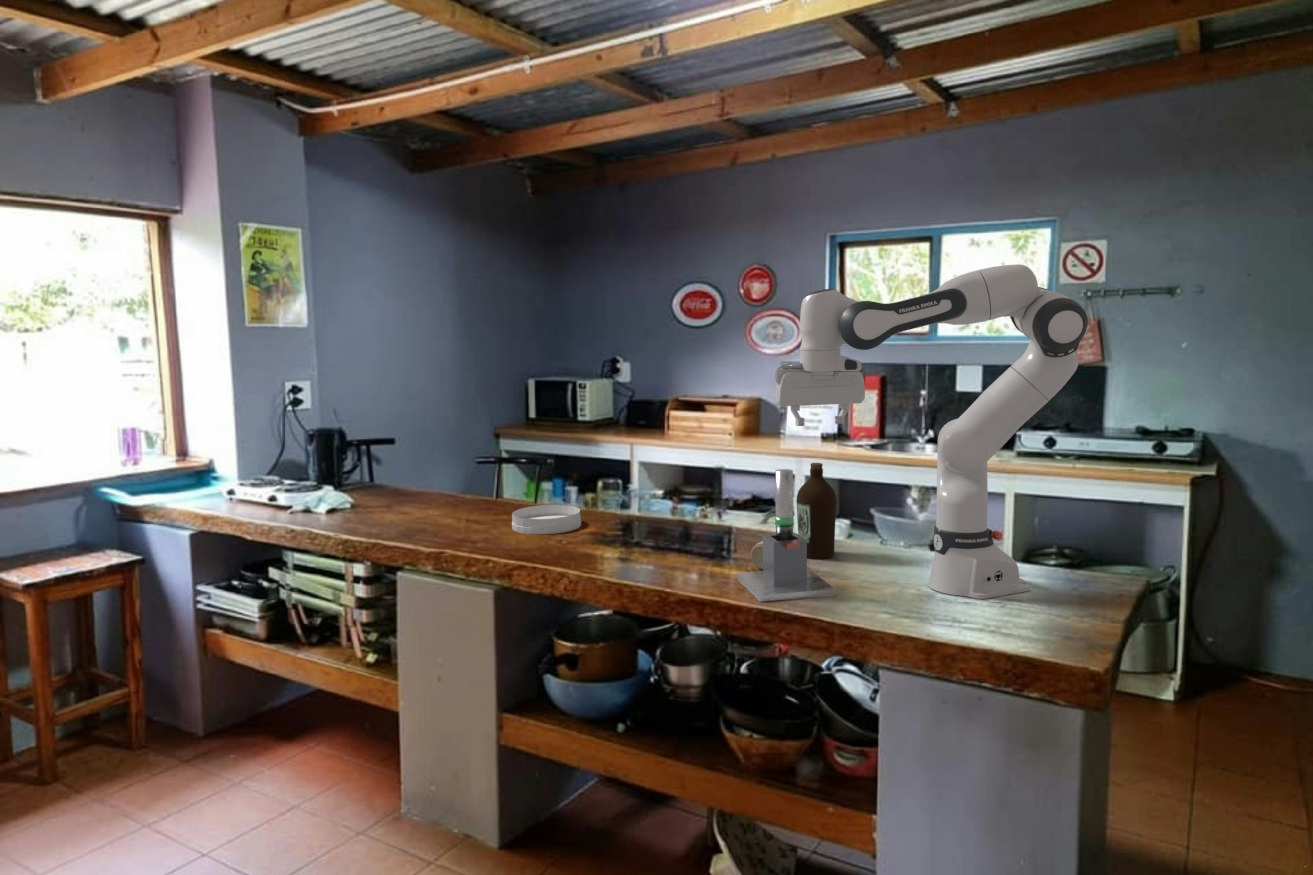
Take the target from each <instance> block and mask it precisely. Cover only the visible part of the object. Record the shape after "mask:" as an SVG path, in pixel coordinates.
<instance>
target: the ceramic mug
mask: <svg viewBox="0 0 1313 875" xmlns="http://www.w3.org/2000/svg"><path fill="white" fill-rule="evenodd" d="M750 550H751V551H750V559H751V562H752V564H753V565H754V566H755V567H756V568H758V569H759V570H761V571H763V540H761V541H759V542H757V543H755V545H753V547H752V548H751V549H750Z"/></svg>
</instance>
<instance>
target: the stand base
mask: <svg viewBox="0 0 1313 875" xmlns="http://www.w3.org/2000/svg"><path fill="white" fill-rule="evenodd" d="M762 541H763V570H761V571H759V570H758V571H748V572H738V573H736V579H737V580H738V582H739V583H740V584H742V585H743V586H744V587H745V588H746V590H747V591H749V592H750V594H752V596H754V597H755V598H756V599H757V600H758V601H759V602H761V603H762V602H773V601H774V602H775V601H784V600H786V601H787V600H796V599H808V598H818V597H819V598H820V597H830V596H836V595H837V594H836V587H834V586H832V585H831V584H829V582H827V581H825V579H823V578H822V577H820V576H818V575H817V574H816V573H814V571H812V570H810V569H809V568H807V567H808V562H807V561H808V558H807V540H805V539H804V538H802V537H801V536H799V535H798V533H796V532H794V531H793V540H783V541H777V540H776V533H771V534H769V533H767V534H762Z"/></svg>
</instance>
